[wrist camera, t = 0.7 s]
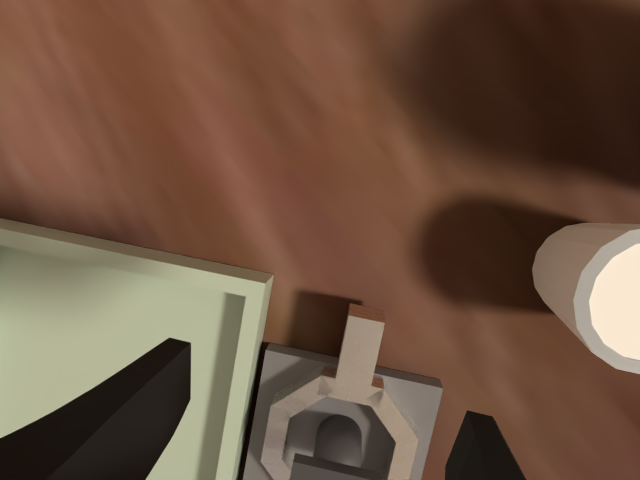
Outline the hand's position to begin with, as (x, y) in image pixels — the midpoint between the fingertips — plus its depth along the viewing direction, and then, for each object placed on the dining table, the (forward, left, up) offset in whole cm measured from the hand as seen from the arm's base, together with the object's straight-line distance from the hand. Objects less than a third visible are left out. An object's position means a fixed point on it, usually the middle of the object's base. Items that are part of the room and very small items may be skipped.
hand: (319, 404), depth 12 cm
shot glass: (+3, -14, -17) cm, 22 cm away
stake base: (-12, -2, -17) cm, 21 cm away
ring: (-8, -2, -16) cm, 18 cm away
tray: (-10, +14, -17) cm, 24 cm away
